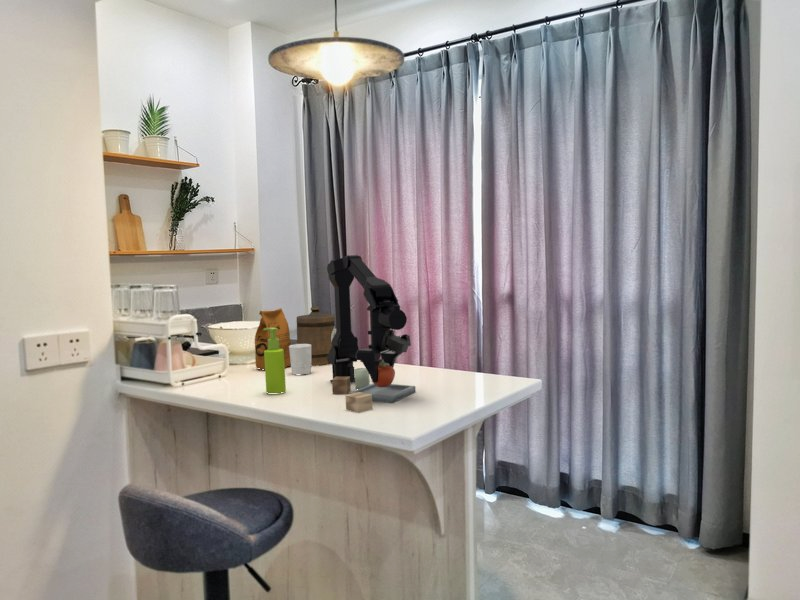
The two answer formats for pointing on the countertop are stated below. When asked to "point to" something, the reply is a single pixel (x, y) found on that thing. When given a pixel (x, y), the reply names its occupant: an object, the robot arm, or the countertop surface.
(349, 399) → the beech block
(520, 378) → the countertop surface
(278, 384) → the soap dispenser
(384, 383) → the tomato
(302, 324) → the wooden container
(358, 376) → the sage green capsule
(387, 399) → the dish
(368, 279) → the robot arm
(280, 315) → the coffee package
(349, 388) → the walnut block
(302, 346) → the white cup
